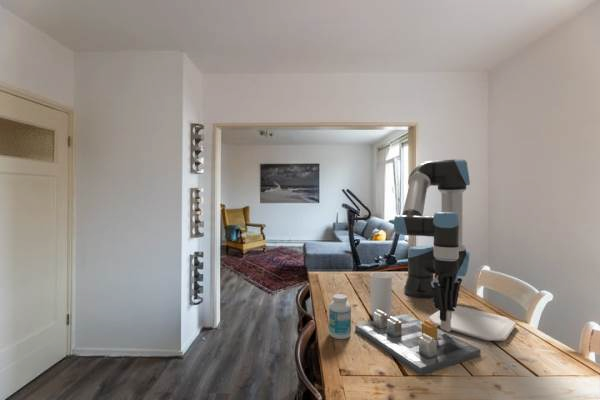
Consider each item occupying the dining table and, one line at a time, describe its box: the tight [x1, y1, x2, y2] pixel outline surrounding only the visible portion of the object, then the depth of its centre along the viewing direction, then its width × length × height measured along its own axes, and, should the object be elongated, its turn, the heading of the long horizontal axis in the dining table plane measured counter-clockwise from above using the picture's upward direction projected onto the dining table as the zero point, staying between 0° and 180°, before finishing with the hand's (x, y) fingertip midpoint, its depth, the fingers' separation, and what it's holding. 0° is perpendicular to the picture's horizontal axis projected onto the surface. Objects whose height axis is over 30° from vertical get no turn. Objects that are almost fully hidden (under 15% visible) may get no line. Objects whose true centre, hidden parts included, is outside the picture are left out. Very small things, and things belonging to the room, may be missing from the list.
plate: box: [428, 305, 517, 342], centre depth 112 cm, size 25×25×2 cm
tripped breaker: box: [422, 319, 438, 339], centre depth 97 cm, size 3×4×5 cm
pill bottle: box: [328, 293, 352, 340], centre depth 104 cm, size 8×7×14 cm
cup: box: [370, 272, 393, 318], centre depth 122 cm, size 8×8×16 cm
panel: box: [354, 309, 481, 377], centre depth 99 cm, size 24×30×7 cm
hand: (445, 329), depth 100 cm, fingers closed
